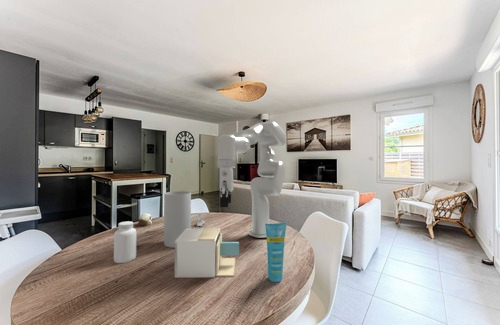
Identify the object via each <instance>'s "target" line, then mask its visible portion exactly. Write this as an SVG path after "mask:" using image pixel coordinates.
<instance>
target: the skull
mask: <svg viewBox="0 0 500 325" xmlns="http://www.w3.org/2000/svg"><path fill="white" fill-rule="evenodd" d="M152 220H153V218H152V215H151V214H150V213H147V212H145V213H142V214H141V215H140V216H139V217H138V221H137V223H136V224H134V227H137V226H139V227H147V226H149V225H151V224H152V223H153V222H152Z"/></svg>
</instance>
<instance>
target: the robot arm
mask: <svg viewBox="0 0 500 325" xmlns="http://www.w3.org/2000/svg"><path fill="white" fill-rule="evenodd" d="M217 139H218V140H217V168H219V191H220V197H219V201H220V202H219V207H220V208H229V204H231V203H232V192H233V191H234V187H235V186H234V169H235V168H236V165H237V164H236V160H237V159H236V158H237V156H236V155H239V154H240V155H243V154H247V153H248V151H249V150H250V149H251V146H253V145H256V144H257V143H258V144H259V145H258V146H259V147H260V151H261V152H260V153H261V155H260V160H259V164H258V167H257V174H258V176H260V177H253V179H251V181H250V183H249V185H250V187H249V188H250V192H251V229H250V230H249V232H248V234H249V236H251V237H254V238H259V239H261V238H267V237H266V228H265V224H270V201H269V199H268V197H267V196H277V197H278V196H279V195H280V194H281V192H282V189H283V184H284V179H285V174H286V166H285V164H284V162H283V161H281V160H276V157H277V156H276V153H275V152H274V150H273V149H272V147H282V146H285V144H286V142H287V134H286V132H285V131H284V130H283V128H282V127H281V126H280V125H279V123H277V122H275V121H266V122H265V121H264V122H257V123H256V124H254V125H252V126H250V127H249V128H247V129H244V130H240V131H238V132H234V133H231V134H222V135H220V136H218V138H217Z"/></svg>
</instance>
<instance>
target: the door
mask: <svg viewBox="0 0 500 325" xmlns="http://www.w3.org/2000/svg"><path fill="white" fill-rule="evenodd" d="M219 239H220V262H221V258H223V256H239V255H240V241H223V232H220V237H219Z"/></svg>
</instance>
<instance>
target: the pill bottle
mask: <svg viewBox="0 0 500 325" xmlns="http://www.w3.org/2000/svg"><path fill="white" fill-rule="evenodd" d="M117 225H118V226H117V230H116V231H114V234H113V262H114V263H116V264H126V263H130V262H132V261H134V260H135V259H136V257H137V230H136V228H135V227H134V222H133V221H129V220H128V221H121V222H119V223H117Z"/></svg>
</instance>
